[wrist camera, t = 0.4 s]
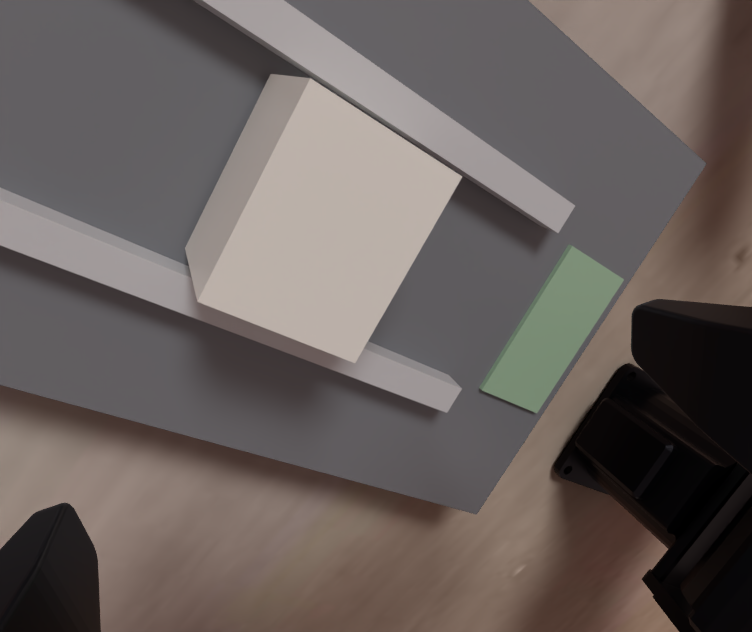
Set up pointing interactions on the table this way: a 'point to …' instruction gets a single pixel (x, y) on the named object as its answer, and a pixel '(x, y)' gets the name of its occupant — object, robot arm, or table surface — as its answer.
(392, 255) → the switch knob
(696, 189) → the table surface
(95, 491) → the table surface
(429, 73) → the slider switch base
